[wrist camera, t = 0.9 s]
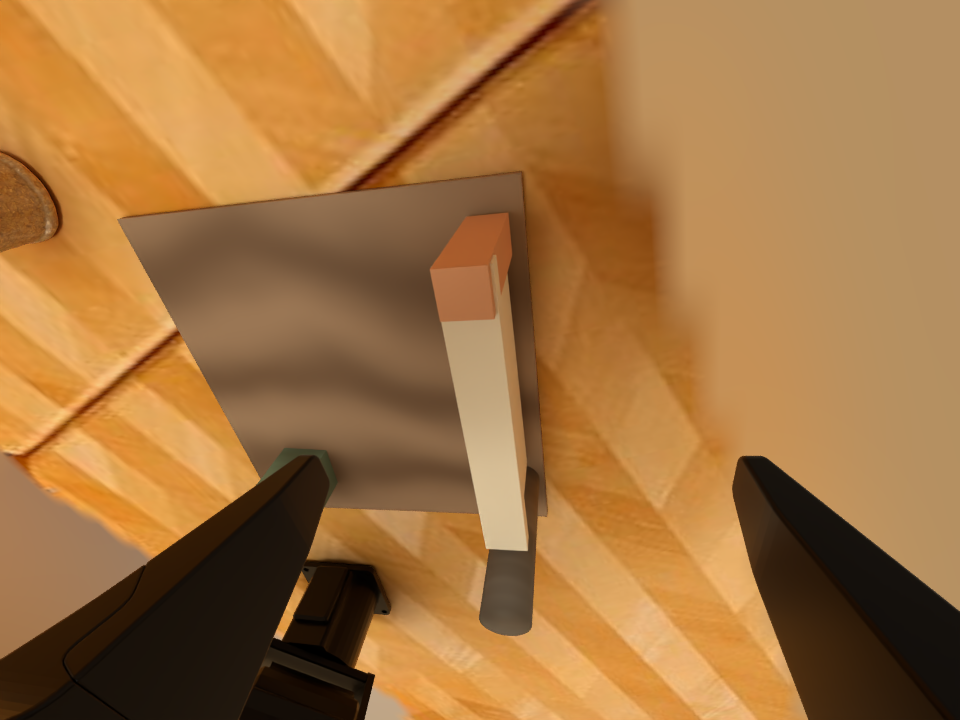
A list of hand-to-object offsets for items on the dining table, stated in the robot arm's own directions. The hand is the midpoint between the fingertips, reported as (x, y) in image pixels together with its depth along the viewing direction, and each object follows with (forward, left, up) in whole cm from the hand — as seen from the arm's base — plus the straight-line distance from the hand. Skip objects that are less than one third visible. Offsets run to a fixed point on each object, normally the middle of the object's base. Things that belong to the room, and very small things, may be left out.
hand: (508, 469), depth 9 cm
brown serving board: (-7, +10, -13) cm, 18 cm away
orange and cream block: (-5, +2, -12) cm, 13 cm away
